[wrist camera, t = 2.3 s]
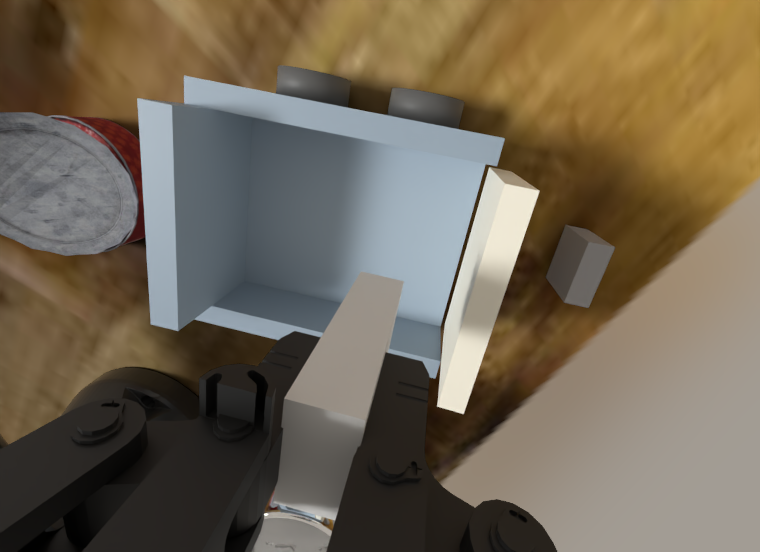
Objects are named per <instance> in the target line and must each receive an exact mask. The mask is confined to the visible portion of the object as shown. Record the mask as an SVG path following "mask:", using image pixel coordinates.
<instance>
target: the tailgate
mask: <svg viewBox="0 0 760 552" xmlns="http://www.w3.org/2000/svg"><path fill="white" fill-rule="evenodd" d="M538 194H539V190H538V189H536V188H535V187H533V186H532V185H530V184H529V183H527V182H526V181H525V180H523V179H522V178H520V177H519V176H517V175H516V174H514V173H513V172H511V171H506V170H502V169H497V168H492V167H489V170H488V173H487V177H486V180H485V184H484V187H483V191H482V194H481V198H480V201H479V205H478V209H477V212H476V216H475V219H474V223H473V226H472V230H471V233H470V237H469V240H468V244H467V247H466V251H465V254H464V258H463V262H462V265H461V269H460V272H459V276H458V279H457V283H456V286H455V290H454V293H453V297H452V300H451V304H450V307H449V311H448V315H447V318H446V322H445V326H444V337H443V348H442V359H441V370H440V381H439V392H438V403H437V407H440V408H444V409H447V410H451V411H454V412H458V413H461V414H464V412H465V409H466V406H467V403H468V400H469V397H470V394H471V391H472V388H473V385H474V382H475V379H476V376H477V373H478V371H479V368H480V365H481V362H482V359H483V356H484V353H485V350H486V347H487V344H488V341H489V338H490V335H491V332H492V329H493V326H494V324H495V321H496V318H497V315H498V312H499V309H500V306H501V303H502V300H503V297H504V294H505V291H506V288H507V285H508V282H509V279H510V277H511V274H512V271H513V268H514V265H515V262H516V259H517V256H518V253H519V250H520V247H521V244H522V241H523V238H524V235H525V233H526V230H527V227H528V224H529V221H530V218H531V215H532V212H533V209H534V206H535V203H536V200H537V197H538Z"/></svg>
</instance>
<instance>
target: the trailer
mask: <svg viewBox="0 0 760 552" xmlns="http://www.w3.org/2000/svg"><path fill="white" fill-rule="evenodd" d="M350 87H351V81H349V80H347V79H344V78H341V77H337V76H334V75H330V74H326V73H321V72H317V71H312V70H308V69H302V68H297V67H290V66H278V75H277V90H276V94H275V93H270V92H265V91H260V90H255V89H249V88H244V87H239V86H234V85H229V84H224V83H219V82H213V81H208V80H203V79H198V78H193V77H188V76H184V104H183V103H175V102H166V101H157V100H149V99H140V98H137V101H138V118H139V135H140V151H141V168H142V185H143V202H144V218H145V235H146V252H147V269H148V285H149V302H150V319H151V324H152V325H156V326H160V327H164V328H168V329H172V330H176V331H179V330H180V329H182V328H183V327H184V326H186V325H187V324H188V323H190V322H191V321H192V320H198V321H202V322H207V323H211V324H215V325H219V326H223V327H227V328H231V329H235V330H239V331H243V332H247V333H251V334H255V335H259V336H264V337H268V338H272V339H276V340H279V339H280V338H282V337H284V336H286V335H288V334H290V333H292V332H293V331H297V332H301V333H305V334H309V335H313V336H317V337H322V335H323V333H324V332H325V330H326V328H327V327H328V325H329V323H330V322H331V320H332V318H333V317H334V315H335V313H336V312H337V310H338V308H339V307H340V305H341V303H342V302H343V300H344V299H345V297H346V295H347V294H348V292H349V290H350V289H351V287H352V285H353V284H354V282H355V280H356V279H357V277H358V275H359V274H360V272H361V271H362V272H366V273H370V274H375V275H379V276H383V277H388V278H392V279H396V280H401V281H404V284H403V288H402V293H401V297H400V302H399V306H398V311H397V315H396V319H395V324H394V328H393V333H392V337H391V342H390V346H389V350H388V353H391V354H395V355H399V356H403V357H407V358H411V359H415V360H419V361H423V363H424V365H425V367H426V369H427V371H428V373H429V377H431V378H436V375H437V371H438V368H439V364H440V327H441V323H442V319H443V316H444V312H445V309H446V305H447V301H448V298H449V294H450V291H451V287H452V283H453V280H454V276H455V273H456V269H457V266H458V262H459V258H460V255H461V251H462V248H463V244H464V240H465V237H466V233H467V230H468V226H469V222H470V219H471V215H472V212H473V208H474V205H475V201H476V197H477V194H478V190H479V187H480V183H481V179H482V176H483V172H484V169H485V165H486V164H488V165H493V166H497V164H498V161H499V158H500V154H501V151H502V147H503V144H504V140H505V138H501V137H496V136H491V135H485V134H480V133H475V132H470V131H465V130H460V129H458V128H459V124H460V120H461V116H462V112H463V108H464V103H465V102H464V101H461V100H459V99H455V98H452V97H448V96H444V95H439V94H435V93H430V92H424V91H419V90H412V89H405V88H392V91H391V97H390V102H389V108H388V114H387V115H383V114H378V113H373V112H367V111H362V110H357V109H352V108H348V102H349V94H350ZM614 249H615V247H614V246H612V245H611V244H609V243H608V242H606V241H605V240H603V239H602V238H600V237H599V236H597V235H596V234H594V233H592V232H591V231H589V230H588V229H583V228H579V227H574V226H569V225H565V228H564V230H563V233H562V236H561V238H560V241H559V244H558V246H557V249H556V252H555V254H554V257H553V259H552V262H551V265H550V267H549V270H548V273H547V275H546V279H547V280H548V281H549V283H550V284H551V285H552V287H553V288H554V290H555V291H556V292H557V294H558V295H559V296H560V298H561V299H562V301H563V302H564V303H568V304H572V305H577V306H581V307H586V308H589V306H590V304H591V301H592V299H593V297H594V295H595V292H596V290H597V288H598V285H599V283H600V281H601V279H602V276H603V274H604V272H605V270H606V267H607V265H608V263H609V261H610V258H611V256H612V254H613V252H614Z"/></svg>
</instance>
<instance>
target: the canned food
mask: <svg viewBox="0 0 760 552" xmlns="http://www.w3.org/2000/svg"><path fill="white" fill-rule="evenodd" d="M0 234H1V235H4V236H6V237H9V238H11V239H14V240H16V241H18V242H20V243H22V244H24V245H26V246H28V247H30V248H32V249H38V250H43V251H49V252H53V253H57V254H61V255H66V256H69V255H80V254H97V253H99V252H107V251H110V250H113V249H116V248H118V247H120V246H123V245H126V244H128V243H131V242H134V241H137V240H140V239H143V238H144V237H146V235H145V218H144V202H143V185H142V168H141V151H140V141H139V140H138V139H137V138H136V137H135V136H134V135H133V134H132V133H130V132H129V131H128V130H126V129H125V128H124V127H122V126H120V125H118V124H116V123H114V122H112V121H109V120H105V119H102V118H94V117H69V116H58V115H52V116H42V115H39V114H36V113H0Z"/></svg>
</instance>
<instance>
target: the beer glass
mask: <svg viewBox="0 0 760 552" xmlns="http://www.w3.org/2000/svg"><path fill="white" fill-rule="evenodd" d="M274 493H275V488H274V490H273V493H272V495H271V497H270V499H269V501H268V503H267V505H266V507H265V513H264V521H263V525H262V529H261V532H260V534H259V536H258V539H257V541H256V543H255V545H254V547H253V549H252V552H326V551H327V547H328V544H329V540H330V537H331V533H332V530H333V526H334V523H335V520H331V519H328V518H325V517H321V516H318V515H314V514H311V513H307V512H304V511H300V510H297V509H293V508H290V507H287V506H283V505H280V504H276V503H273V502H274Z"/></svg>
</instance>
